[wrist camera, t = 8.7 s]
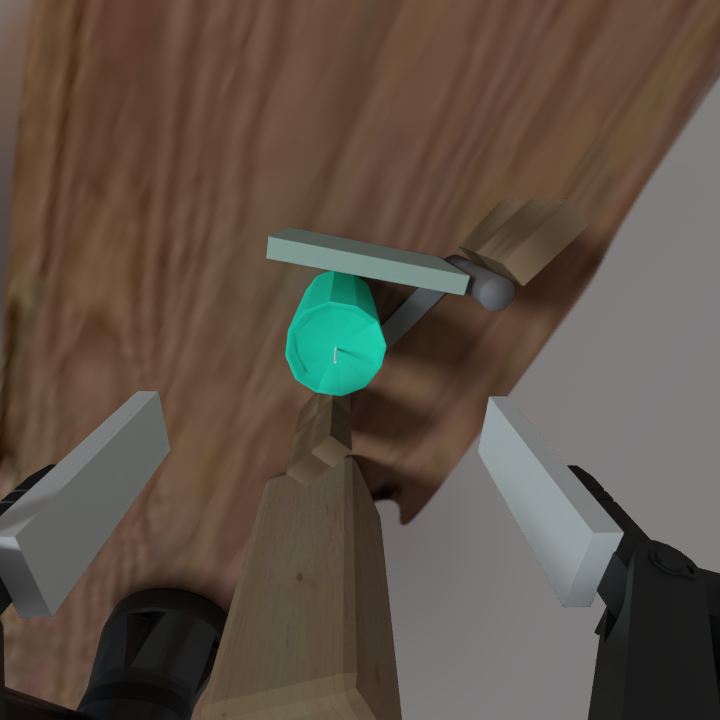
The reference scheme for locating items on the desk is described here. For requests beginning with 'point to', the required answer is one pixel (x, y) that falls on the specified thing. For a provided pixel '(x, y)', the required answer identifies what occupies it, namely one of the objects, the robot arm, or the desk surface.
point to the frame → (484, 247)
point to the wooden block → (309, 610)
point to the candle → (336, 335)
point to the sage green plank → (366, 260)
